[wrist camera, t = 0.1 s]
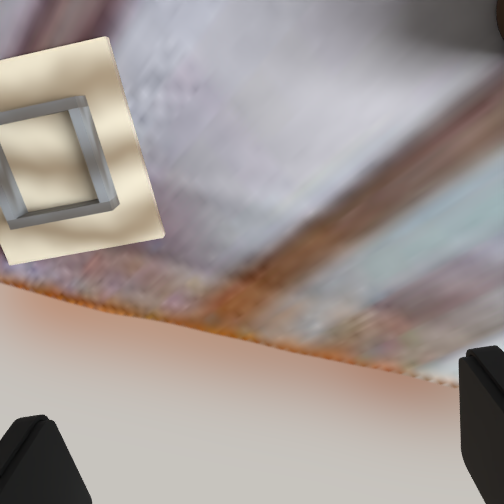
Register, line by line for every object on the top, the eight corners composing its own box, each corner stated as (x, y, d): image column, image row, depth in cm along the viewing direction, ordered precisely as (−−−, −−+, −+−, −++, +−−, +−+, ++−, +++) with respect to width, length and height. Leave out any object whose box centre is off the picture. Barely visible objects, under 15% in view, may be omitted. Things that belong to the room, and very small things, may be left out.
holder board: (-67, 77, 41) (-95, 77, 38) (108, 37, 40) (94, 33, 37) (14, 261, 49) (-4, 274, 45) (165, 234, 47) (158, 245, 44)
